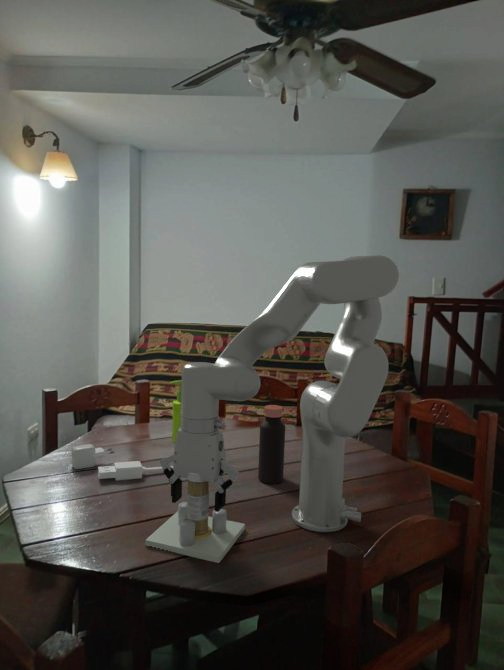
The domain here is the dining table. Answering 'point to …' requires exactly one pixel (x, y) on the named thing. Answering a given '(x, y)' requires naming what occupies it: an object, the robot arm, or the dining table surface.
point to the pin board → (183, 540)
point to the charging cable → (124, 470)
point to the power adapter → (87, 455)
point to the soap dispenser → (176, 411)
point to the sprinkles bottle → (198, 503)
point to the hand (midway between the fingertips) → (197, 504)
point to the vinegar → (271, 446)
